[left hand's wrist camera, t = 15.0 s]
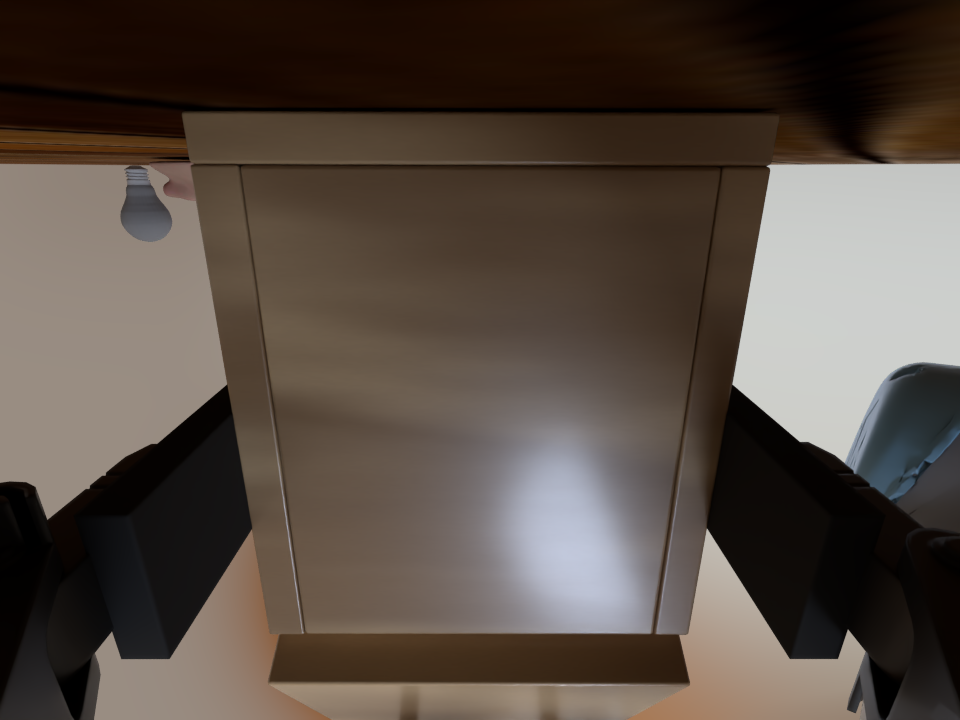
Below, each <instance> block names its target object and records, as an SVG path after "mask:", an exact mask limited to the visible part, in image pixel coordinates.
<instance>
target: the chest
mask: <svg viewBox="0 0 960 720" xmlns="http://www.w3.org/2000/svg"><path fill="white" fill-rule="evenodd" d="M182 118H183V124H184V130H185V135H186V141H187V147H188V153H189V159H190V161H191V163H193V165H191V167H190V168H191V174H192V180H193V186H194V191H195V197H196V203H197V209H198V215H199V221H200V226H201V232H202V238H203V244H204V250H205V256H206V262H207V268H208V274H209V279H210V285H211V291H212V297H213V303H214V309H215V315H216V320H217V326H218V332H219V338H220V344H221V350H222V356H223V362H224V367H225V373H226V379H227V385H228V391H229V397H230V403H231V409H232V414H233V420H234V425H235V431H236V437H237V443H238V449H239V454H240V460H241V466H242V472H243V477H244V483H245V489H246V495H247V501H248V506H249V512H250V518H251V524H252V532H253V538H254V543H255V549H256V555H257V561H258V567H259V573H260V579H261V585H262V591H263V596H264V602H265V608H266V614H267V620H268V626H269V632H270V634H304V633H305V631H306V633H308V634H652V633H653V632H654V634H656V635H686V634H688V631H689V626H690V620H691V614H692V609H693V603H694V597H695V592H696V586H697V580H698V575H699V569H700V564H701V558H702V552H703V547H704V541H705V535H706V530H707V524H708V518H709V513H710V507H711V501H712V496H713V490H714V484H715V479H716V473H717V467H718V461H719V456H720V450H721V444H722V438H723V433H724V427H725V421H726V415H727V411H728V406H729V400H730V394H731V389H732V383H733V377H734V372H735V366H736V360H737V355H738V349H739V343H740V338H741V332H742V326H743V321H744V315H745V309H746V304H747V298H748V293H749V287H750V281H751V276H752V270H753V264H754V259H755V253H756V248H757V242H758V236H759V231H760V225H761V219H762V214H763V208H764V202H765V197H766V191H767V185H768V180H769V174H770V168H769V167H766V166H768V165H770V164H771V162H772V157H773V151H774V146H775V140H776V134H777V129H778V123H779V118H780V117H779V114H777V113H767V112H493V111H220V110H186V111H184V112H182Z"/></svg>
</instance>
